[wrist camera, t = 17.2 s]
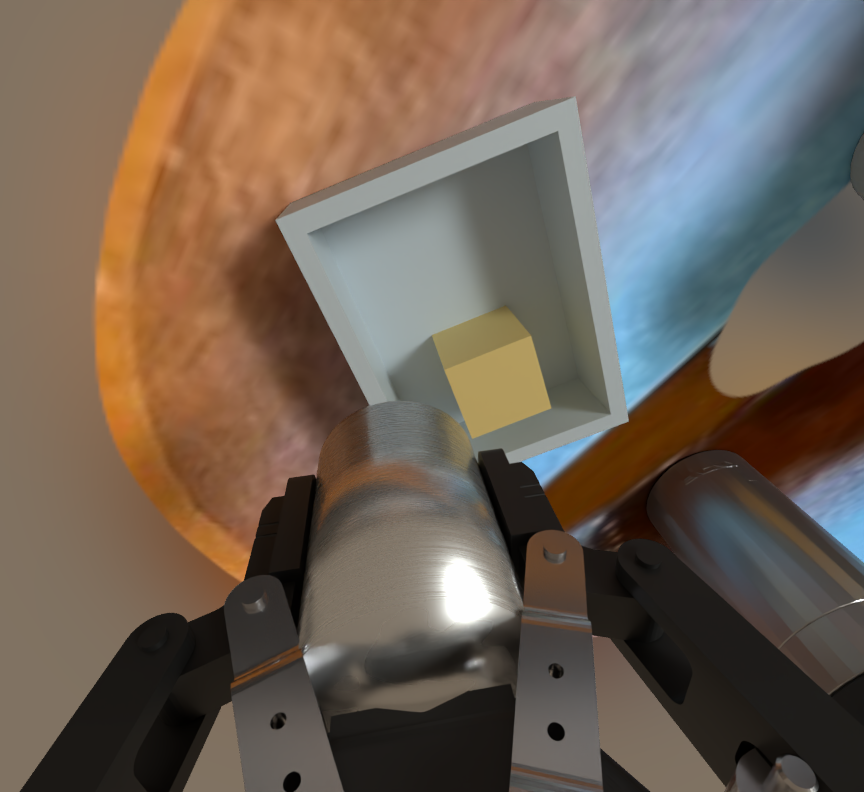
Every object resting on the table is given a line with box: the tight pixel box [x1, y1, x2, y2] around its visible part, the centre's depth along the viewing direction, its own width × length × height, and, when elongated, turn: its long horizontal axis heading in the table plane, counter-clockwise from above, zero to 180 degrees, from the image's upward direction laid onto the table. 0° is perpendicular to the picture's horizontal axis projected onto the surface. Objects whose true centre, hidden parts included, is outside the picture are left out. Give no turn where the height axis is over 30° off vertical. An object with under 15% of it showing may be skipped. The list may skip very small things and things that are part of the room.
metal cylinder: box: [297, 401, 524, 731], centre depth 12 cm, size 5×5×7 cm
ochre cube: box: [432, 305, 551, 439], centre depth 29 cm, size 5×5×5 cm
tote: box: [276, 96, 629, 464], centre depth 28 cm, size 18×14×6 cm
